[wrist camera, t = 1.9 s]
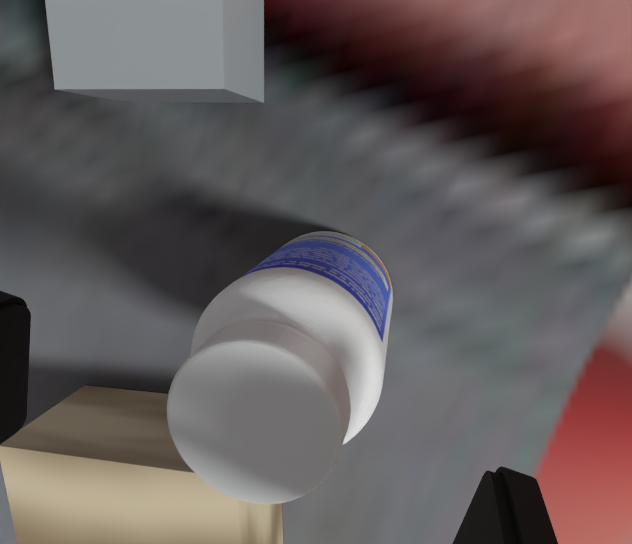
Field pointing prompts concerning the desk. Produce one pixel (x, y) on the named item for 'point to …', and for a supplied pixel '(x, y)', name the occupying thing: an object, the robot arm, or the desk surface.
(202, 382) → the pill bottle
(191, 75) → the grey block
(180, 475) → the oak block
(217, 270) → the desk surface
